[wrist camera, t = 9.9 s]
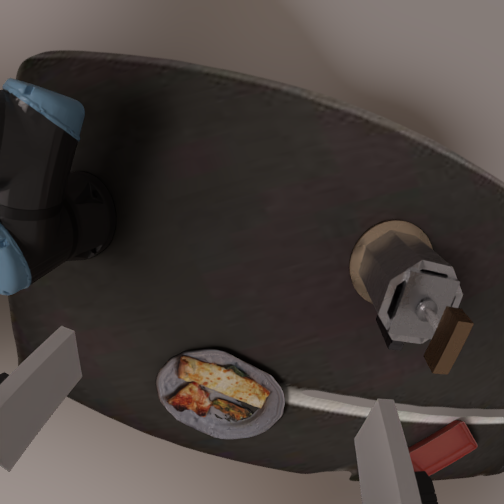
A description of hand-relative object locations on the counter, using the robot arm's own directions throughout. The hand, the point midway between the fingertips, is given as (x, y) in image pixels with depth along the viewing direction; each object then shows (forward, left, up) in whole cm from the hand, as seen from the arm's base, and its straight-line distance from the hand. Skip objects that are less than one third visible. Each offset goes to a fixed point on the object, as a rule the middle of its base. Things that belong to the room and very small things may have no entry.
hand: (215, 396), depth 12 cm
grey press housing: (+20, -4, -37) cm, 42 cm away
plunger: (+20, -4, -32) cm, 38 cm away
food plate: (-3, -37, -37) cm, 52 cm away
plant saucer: (+53, -48, -37) cm, 81 cm away
